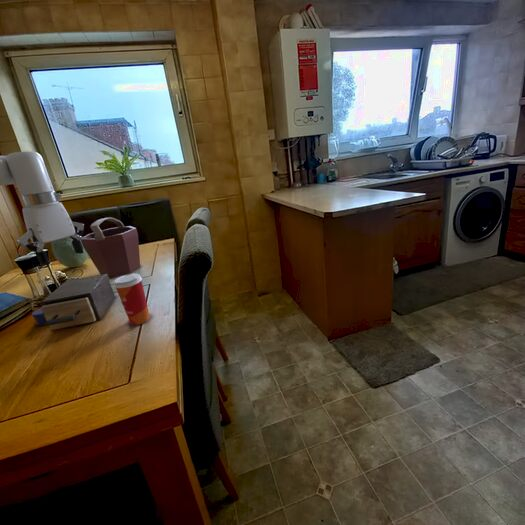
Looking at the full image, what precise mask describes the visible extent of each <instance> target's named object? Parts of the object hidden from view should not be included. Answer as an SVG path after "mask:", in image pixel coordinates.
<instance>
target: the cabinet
mask: <svg viewBox="0 0 525 525" xmlns="http://www.w3.org/2000/svg"><path fill="white" fill-rule="evenodd" d="M88 295H89V298H90V301H91V303H92V306H93V309H94V311H95V314H96V316H95V317H96V321H95V322H97V321H101V320H102V318H103V317H104V315H105V314H106V313H107V311H108V309H109V308H110V306H111V305H112V303H113V301H114V300H115V298H116V295H115V291H114V288H113V286H112V283H111V280H110V277H108V274H102V275H101V274H97V275H92V276H91V275H90V276H86V277H80V278H73V279H69V280H65V281H64V282H63V283H62V284H61V285H60V286H58V287H57V288H56V289H55V290H54V291H53V292H51V293H49V295H47V297H45V298H44V299H43V300H41V304H42V306H44V305H48V303H51V302H56V301H61V300H67V299H72V298H77V297H83V296H88Z"/></svg>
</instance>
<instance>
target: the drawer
mask: <svg viewBox="0 0 525 525" xmlns="http://www.w3.org/2000/svg"><path fill="white" fill-rule="evenodd" d="M40 308H41V309H42V311H43V313H44V316H45V318H46V320H47V322H46V326H48V327H49V329H50V331H54V330H60V329H64V328H68V327H75V326H79V325H84V324H88V323H93V322H94V323H95V322H97V321H96V317H95V316H96V314H95V311H94V309H93V306H92V303H91V301H90V298H89V295H88V296H83V297H77V298H72V299H67V300H61V301H56V302H51V303H48V305H44V306H43V305H41V307H40Z"/></svg>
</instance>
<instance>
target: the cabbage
mask: <svg viewBox="0 0 525 525" xmlns="http://www.w3.org/2000/svg"><path fill="white" fill-rule="evenodd" d="M83 237H84V236H82V237H81V238H83ZM72 241H73V239H71V238H69V237H66V238H63V239H59V240H56V241H52V242H51V250H52V254H53V256H54V258H55V259H56V261H57V262H58V263H59V264H60V265H62V266H64V267H67V268H77V267H81V266H83V265H84V264H85V263H86V262H87V261H88V260H89V258H90V257H89V255H88V254H87V252H86V250H85V249H84V247H83V245H82V247H83V252H84V253H76V252H75V250H74V247H73V245H72ZM80 241H81V240H80ZM81 244H82V243H81Z"/></svg>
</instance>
